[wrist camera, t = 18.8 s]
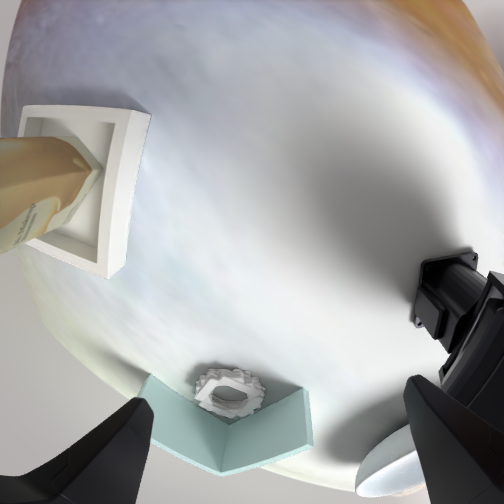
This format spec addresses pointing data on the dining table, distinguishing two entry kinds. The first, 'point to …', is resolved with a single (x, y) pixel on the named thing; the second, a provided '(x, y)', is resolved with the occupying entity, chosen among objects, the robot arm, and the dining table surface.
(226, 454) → the right angle wall
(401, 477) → the serving bowl
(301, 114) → the dining table surface
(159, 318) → the dining table surface
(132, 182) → the holder tray
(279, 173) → the dining table surface
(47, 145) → the skincare box
